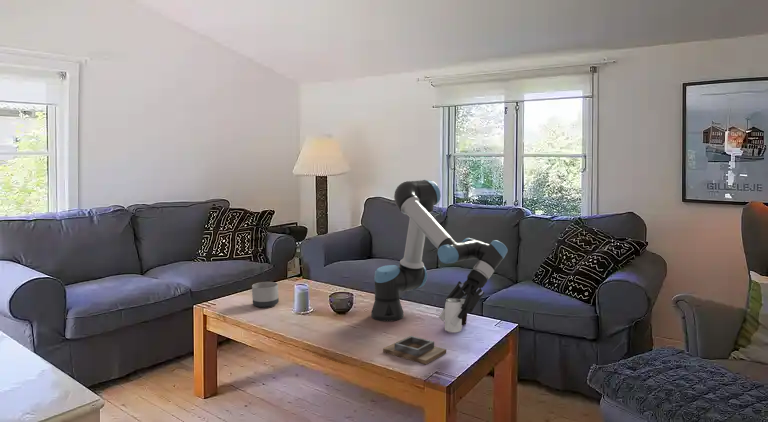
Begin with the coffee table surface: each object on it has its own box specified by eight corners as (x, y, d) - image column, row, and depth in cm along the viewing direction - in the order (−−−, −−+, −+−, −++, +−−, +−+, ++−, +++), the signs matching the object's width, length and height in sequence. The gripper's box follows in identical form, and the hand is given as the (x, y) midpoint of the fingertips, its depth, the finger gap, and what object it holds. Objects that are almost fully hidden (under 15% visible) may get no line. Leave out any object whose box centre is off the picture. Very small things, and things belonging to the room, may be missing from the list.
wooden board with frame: (383, 352, 214) (382, 342, 214) (404, 341, 225) (404, 332, 225) (425, 364, 202) (425, 354, 202) (446, 352, 213) (446, 343, 212)
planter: (275, 308, 273) (275, 288, 271) (249, 309, 273) (249, 288, 271) (281, 301, 285) (280, 281, 284) (256, 301, 285) (255, 281, 284)
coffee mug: (468, 326, 243) (468, 304, 242) (448, 325, 245) (448, 303, 243) (469, 318, 254) (469, 297, 253) (450, 317, 256) (450, 296, 255)
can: (449, 326, 219) (449, 296, 217) (464, 329, 215) (464, 299, 213) (441, 330, 213) (442, 300, 212) (456, 334, 210) (457, 303, 208)
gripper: (502, 285, 212) (468, 334, 206) (469, 275, 228) (437, 319, 222) (492, 274, 208) (457, 323, 202) (459, 264, 225) (426, 309, 218)
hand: (446, 321), depth 212 cm, fingers closed on can, 6 cm apart
